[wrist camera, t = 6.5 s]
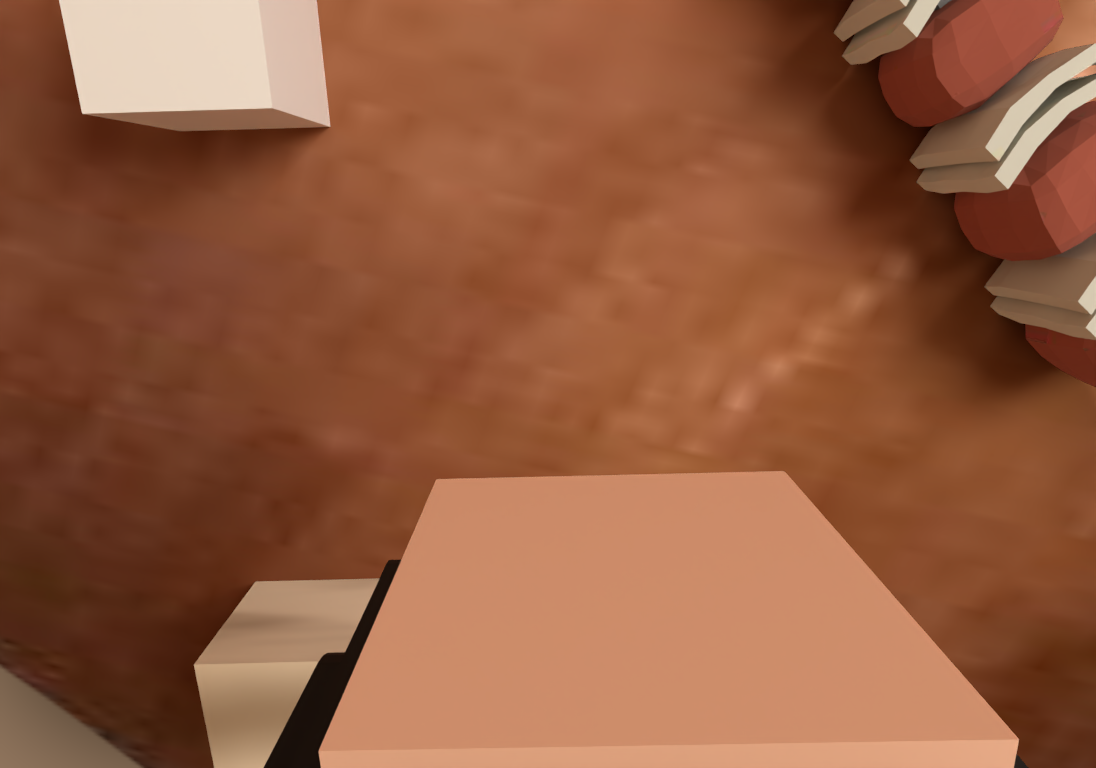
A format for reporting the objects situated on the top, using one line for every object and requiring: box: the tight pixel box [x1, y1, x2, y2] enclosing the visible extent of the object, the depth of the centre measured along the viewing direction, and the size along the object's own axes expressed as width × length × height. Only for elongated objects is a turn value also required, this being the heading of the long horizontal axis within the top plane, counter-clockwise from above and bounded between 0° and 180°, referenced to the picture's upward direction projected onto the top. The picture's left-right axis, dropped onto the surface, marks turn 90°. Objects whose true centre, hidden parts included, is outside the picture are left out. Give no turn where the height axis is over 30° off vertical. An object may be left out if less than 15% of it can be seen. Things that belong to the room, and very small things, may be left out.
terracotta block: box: [319, 471, 1019, 768], centre depth 8 cm, size 5×5×5 cm
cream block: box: [59, 0, 330, 131], centre depth 19 cm, size 5×5×5 cm
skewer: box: [834, 0, 1096, 387], centre depth 20 cm, size 5×5×30 cm
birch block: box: [194, 579, 379, 768], centre depth 25 cm, size 5×5×5 cm
